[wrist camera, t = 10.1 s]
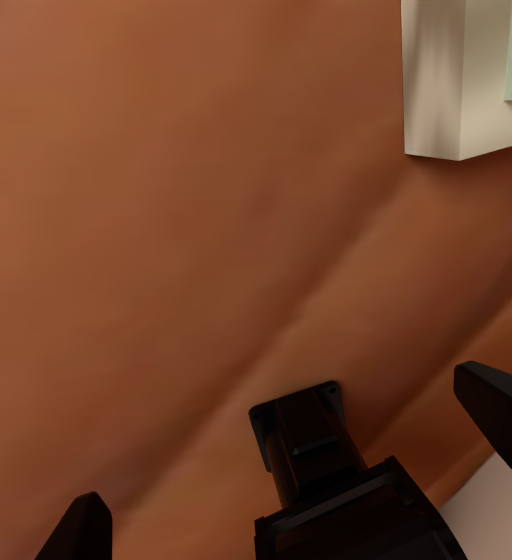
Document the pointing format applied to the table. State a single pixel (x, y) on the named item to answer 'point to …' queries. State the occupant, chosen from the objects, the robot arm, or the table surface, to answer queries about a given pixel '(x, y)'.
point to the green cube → (509, 68)
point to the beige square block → (455, 77)
